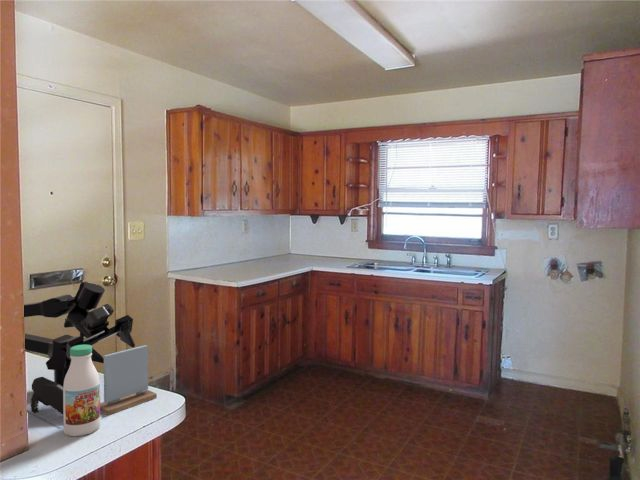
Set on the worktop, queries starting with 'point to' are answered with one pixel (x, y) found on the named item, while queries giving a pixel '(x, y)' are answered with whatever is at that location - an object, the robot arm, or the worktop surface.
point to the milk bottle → (81, 393)
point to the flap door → (125, 374)
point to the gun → (47, 394)
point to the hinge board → (127, 402)
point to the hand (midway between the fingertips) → (119, 353)
